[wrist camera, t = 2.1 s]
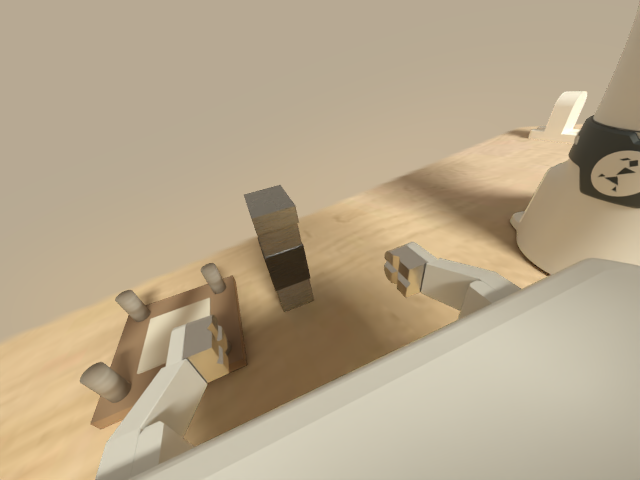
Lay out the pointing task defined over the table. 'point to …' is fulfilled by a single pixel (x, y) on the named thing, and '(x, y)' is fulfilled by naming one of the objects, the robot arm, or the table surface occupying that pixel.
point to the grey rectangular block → (281, 245)
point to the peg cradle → (160, 342)
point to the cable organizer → (562, 119)
